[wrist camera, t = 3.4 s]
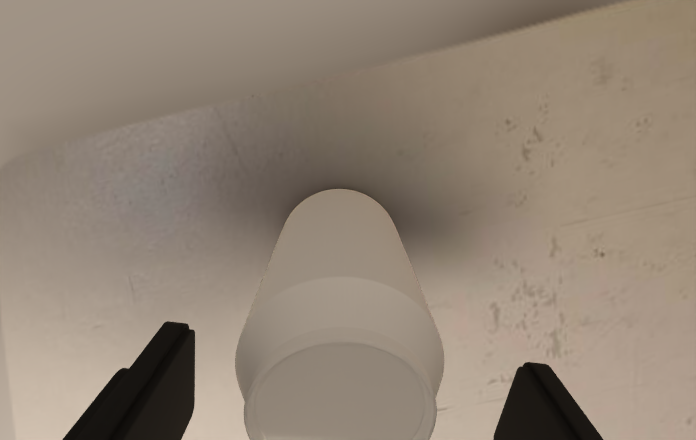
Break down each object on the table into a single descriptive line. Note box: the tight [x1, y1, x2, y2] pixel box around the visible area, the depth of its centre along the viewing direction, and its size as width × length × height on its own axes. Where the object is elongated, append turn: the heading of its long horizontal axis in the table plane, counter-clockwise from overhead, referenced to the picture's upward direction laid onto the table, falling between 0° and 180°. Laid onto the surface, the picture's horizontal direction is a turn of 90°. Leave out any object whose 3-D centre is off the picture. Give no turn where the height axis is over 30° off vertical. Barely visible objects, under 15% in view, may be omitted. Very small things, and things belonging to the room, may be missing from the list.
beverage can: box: [235, 189, 444, 440], centre depth 15 cm, size 6×6×12 cm
